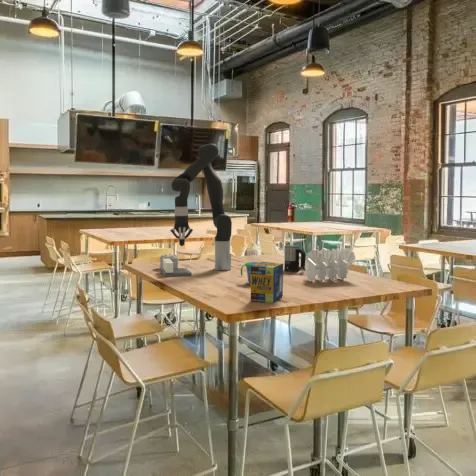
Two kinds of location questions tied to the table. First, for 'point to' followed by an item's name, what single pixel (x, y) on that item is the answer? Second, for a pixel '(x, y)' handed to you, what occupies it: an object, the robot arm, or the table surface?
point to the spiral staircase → (328, 263)
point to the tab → (169, 267)
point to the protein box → (266, 282)
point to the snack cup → (249, 269)
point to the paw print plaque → (171, 257)
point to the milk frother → (294, 258)
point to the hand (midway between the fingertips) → (181, 245)
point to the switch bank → (177, 272)
